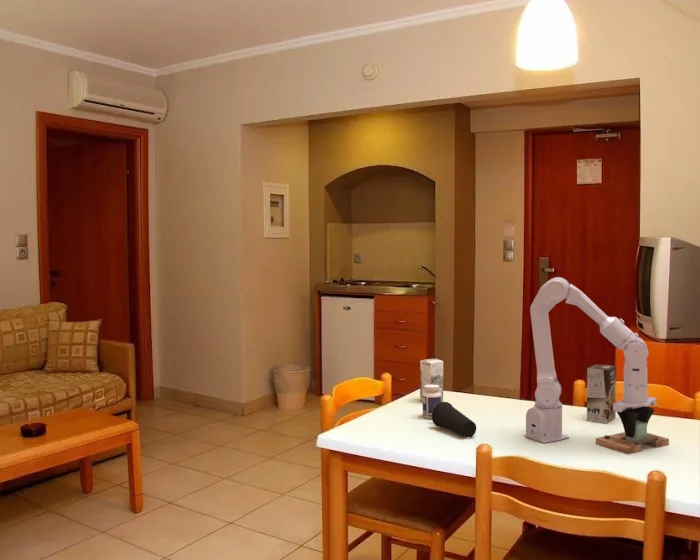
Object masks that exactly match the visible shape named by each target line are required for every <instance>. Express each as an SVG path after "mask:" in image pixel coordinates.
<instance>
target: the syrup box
mask: <svg viewBox="0 0 700 560" xmlns="http://www.w3.org/2000/svg"><path fill="white" fill-rule="evenodd" d="M419 362H420V363H419V364H420V369H419V371H420V373H419V374H420V375H419V376H420V377H419V378H420V381H419V382H420V383H419V401H420V402H422V403H423V393H424V392H425V390H424V386H425V385H439V393H440V394H441V402H444V360H440V359H438V358H429V359H420V361H419Z"/></svg>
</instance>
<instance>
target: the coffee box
mask: <svg viewBox="0 0 700 560" xmlns="http://www.w3.org/2000/svg"><path fill="white" fill-rule="evenodd" d="M586 372H587V373H586V374H587V375H586V421H590V422H595V423H596V422H597V423H602V424H609V422H611V421H613V420H614V419H615V418H616V417H617V416H616V413H617V411H613V403H617V396H616V394H617V392H616V391H617V386H616V385H617V383H616V382H617V381H616V380H617V366H616V365H611V364H610V365H609V364H597V363H596V364H594V365H592V366H590V367H587V371H586ZM613 418H614V419H613ZM612 419H613V420H612Z"/></svg>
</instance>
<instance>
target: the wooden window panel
mask: <svg viewBox="0 0 700 560" xmlns="http://www.w3.org/2000/svg"><path fill="white" fill-rule="evenodd" d="M643 444H644V445H647V446H649V445H650V447H653V448H660V447H665V446H669V445H670V438H668V437H664V436H661V435H657V434H653V433H649V432H647V438H646V439H641V440H637V441H634V443H633V442H629V441H626V435H625V431H624V432H619V433H613V434H609V435H608V434H605V435H604V436H599V437H595V445H597V446H601V447H603V446H604V448H607V449H610V450H613V451H616V450H617V452H619V451H620V453H622V452H623V454H626V455H630V454H635V453H639V452H642V445H643Z"/></svg>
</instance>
